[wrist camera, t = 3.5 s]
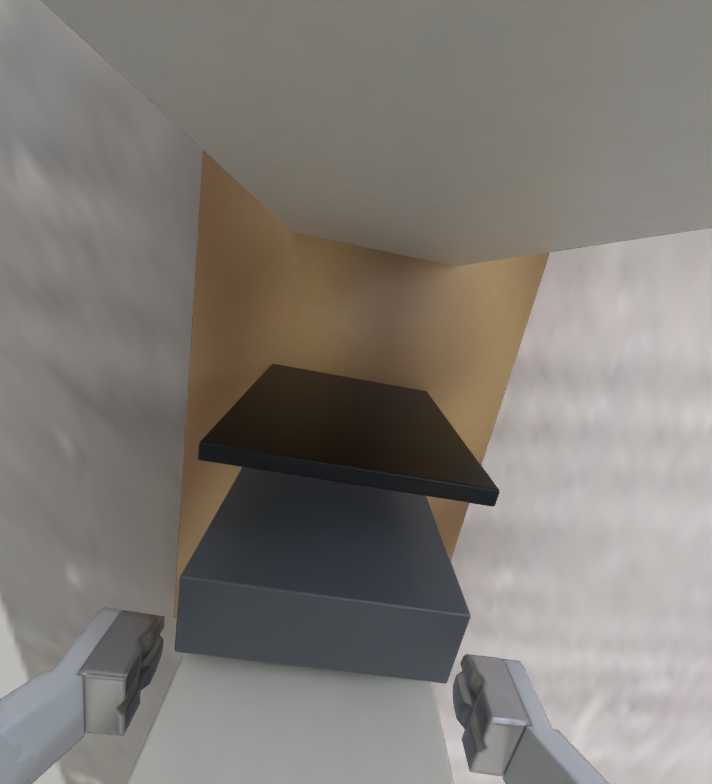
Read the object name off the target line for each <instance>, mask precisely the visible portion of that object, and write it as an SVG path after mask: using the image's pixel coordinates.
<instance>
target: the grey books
mask: <svg viewBox="0 0 712 784" xmlns="http://www.w3.org/2000/svg"><path fill="white" fill-rule="evenodd" d="M469 619H470V613H469V610H468V607H467V605H466V602H465V599H464V597H463V594H462V591H461V588H460V586H459V583H458V580H457V578H456V575H455V572H454V569H453V567H452V564H451V561H450V559H449V556H448V553H447V551H446V548H445V545H444V542H443V540H442V537H441V534H440V532H439V529H438V526H437V523H436V521H435V518H434V515H433V513H432V510H431V507H430V505H429V502H428V499H427V496H424V495H417V494H411V493H405V492H398V491H392V490H386V489H379V488H373V487H367V486H360V485H354V484H348V483H341V482H335V481H329V480H322V479H316V478H310V477H303V476H297V475H291V474H284V473H278V472H272V471H265V470H259V469H253V468H246V467H242V469H241V470H240V472H239V474H238V476H237V477H236V479H235V481H234V483H233V484H232V486H231V488H230V490H229V491H228V493H227V495H226V497H225V498H224V500H223V502H222V504H221V505H220V507H219V509H218V511H217V512H216V514H215V516H214V518H213V519H212V521H211V523H210V525H209V526H208V528H207V530H206V532H205V533H204V535H203V537H202V539H201V541H200V542H199V544H198V546H197V548H196V549H195V551H194V553H193V555H192V556H191V558H190V560H189V562H188V563H187V565H186V567H185V569H184V570H183V572H182V574H181V576H180V580H179V595H178V610H177V625H176V640H175V651H176V652H183V653H192V654H200V655H208V656H217V657H225V658H234V659H242V660H251V661H259V662H268V663H276V664H285V665H293V666H302V667H310V668H319V669H327V670H336V671H344V672H353V673H361V674H370V675H378V676H386V677H395V678H403V679H412V680H420V681H429V682H437V683H447V680H448V678H449V675H450V672H451V669H452V666H453V664H454V661H455V658H456V655H457V653H458V650H459V647H460V644H461V641H462V639H463V636H464V633H465V630H466V628H467V625H468V622H469Z"/></svg>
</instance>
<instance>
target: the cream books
mask: <svg viewBox="0 0 712 784" xmlns="http://www.w3.org/2000/svg"><path fill="white" fill-rule="evenodd" d="M41 1H42V2H43V3H44V4H45V5H46V6H47V7H48V8H49V9H50V10H52V11H53V12H54V13H55V14H56V15H57V16H58V17H59V18H60V19H61V20H62V21H64V22H65V23H66V24H67V25H68V26H69V27H70V28H71V29H72V30H73V31H74V32H76V33H77V34H78V35H79V36H80V37H81V38H82V39H83V40H84V41H85V42H86V43H87V44H89V45H90V46H91V47H92V48H93V49H94V50H95V51H96V52H97V53H98V54H99V55H101V56H102V57H103V58H104V59H105V60H106V61H107V62H108V63H109V64H110V65H111V66H112V67H114V68H115V69H116V70H117V71H118V72H119V73H120V74H121V75H122V76H123V77H124V78H126V79H127V80H128V81H129V82H130V83H131V84H132V85H133V86H134V87H135V88H136V89H137V90H139V91H140V92H141V93H142V94H143V95H144V96H145V97H146V98H147V99H148V100H149V101H151V102H152V103H153V104H154V105H155V106H156V107H157V108H158V109H159V110H160V111H161V112H162V113H164V114H165V115H166V116H167V117H168V118H169V119H170V120H171V121H172V122H173V123H174V124H176V125H177V126H178V127H179V128H180V129H181V130H182V131H183V132H184V133H185V134H186V135H188V136H189V137H190V138H191V139H192V140H193V141H194V142H195V143H196V144H197V145H198V146H199V147H201V148H202V149H203V150H204V151H205V152H206V153H207V154H208V155H209V156H210V157H211V158H213V159H214V160H215V161H216V162H217V163H218V164H219V165H220V166H221V167H222V168H223V169H224V170H226V171H227V172H228V173H229V174H230V175H231V176H232V177H233V178H234V179H235V180H236V181H238V182H239V183H240V184H241V185H242V186H243V187H244V188H245V189H246V190H247V191H248V192H249V193H251V194H252V195H253V196H254V197H255V198H256V199H257V200H258V201H259V202H260V203H261V204H263V205H264V206H265V207H266V208H267V209H268V210H269V211H270V212H271V213H272V214H273V215H274V216H276V217H277V218H278V219H279V220H280V221H281V222H282V223H283V224H284V225H285V226H286V227H288V228H289V229H290V230H291V231H292V232H293V233H298V234H303V235H308V236H312V237H317V238H322V239H327V240H332V241H336V242H341V243H346V244H351V245H356V246H360V247H365V248H370V249H375V250H380V251H384V252H389V253H394V254H399V255H404V256H408V257H413V258H418V259H423V260H428V261H432V262H437V263H442V264H447V265H452V266H461V265H468V264H474V263H481V262H488V261H494V260H501V259H508V258H514V257H521V256H528V255H534V254H541V253H548V252H554V251H561V250H567V249H574V248H581V247H587V246H594V245H601V244H607V243H614V242H621V241H627V240H634V239H641V238H647V237H654V236H661V235H667V234H674V233H681V232H687V231H694V230H700V229H707V228H712V0H41Z"/></svg>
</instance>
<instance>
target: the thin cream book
mask: <svg viewBox="0 0 712 784" xmlns="http://www.w3.org/2000/svg"><path fill="white" fill-rule="evenodd" d="M126 784H454V782H453V777H452V772H451V768H450V763H449V758H448V754H447V749H446V744H445V739H444V735H443V730H442V725H441V721H440V716H439V711H438V707H437V702H436V697H435V692H434V688H433V683H432V682H429V681H420V680H412V679H403V678H395V677H386V676H378V675H370V674H361V673H353V672H344V671H336V670H327V669H319V668H310V667H302V666H293V665H285V664H276V663H268V662H259V661H251V660H242V659H234V658H225V657H217V656H208V655H200V654H192V653H183V656H182V658H181V660H180V662H179V665H178V667H177V669H176V672H175V674H174V676H173V678H172V681H171V683H170V685H169V687H168V690H167V692H166V694H165V696H164V699H163V701H162V703H161V705H160V708H159V710H158V712H157V715H156V717H155V719H154V721H153V724H152V726H151V728H150V730H149V733H148V735H147V737H146V739H145V742H144V744H143V746H142V748H141V751H140V753H139V755H138V757H137V760H136V762H135V764H134V767H133V769H132V771H131V773H130V776H129V778H128V780H127V782H126Z"/></svg>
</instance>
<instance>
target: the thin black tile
mask: <svg viewBox="0 0 712 784" xmlns="http://www.w3.org/2000/svg"><path fill="white" fill-rule="evenodd" d="M198 460H202V461H208V462H214V463H221V464H227V465H234V466H240V467H246V468H253V469H259V470H265V471H272V472H278V473H284V474H291V475H297V476H303V477H310V478H316V479H322V480H329V481H335V482H341V483H348V484H354V485H360V486H367V487H373V488H379V489H386V490H392V491H398V492H405V493H411V494H417V495H424V496H430V497H436V498H443V499H449V500H455V501H462V502H468V503H474V504H481V505H487V506H495V503H496V500H497V497H498V495H499V489H498V488H497V487H496V485H495V484H494V482H493V481H492V480H491V478H490V477H489V476H488V474H487V473H486V471H485V470H484V469H483V467H482V466H481V465H480V463H479V462H478V461H477V459H476V458H475V456H474V455H473V454H472V452H471V451H470V450H469V448H468V447H467V445H466V444H465V443H464V441H463V440H462V439H461V437H460V436H459V435H458V433H457V432H456V430H455V429H454V428H453V426H452V425H451V424H450V422H449V421H448V419H447V418H446V417H445V415H444V414H443V413H442V411H441V410H440V409H439V407H438V406H437V404H436V403H435V402H434V400H433V399H432V398H431V396H430V395H429V393H428V392H427V391H422V390H416V389H411V388H405V387H400V386H394V385H389V384H383V383H378V382H372V381H367V380H361V379H355V378H350V377H344V376H339V375H333V374H328V373H322V372H317V371H311V370H306V369H300V368H294V367H289V366H283V365H278V364H271V365H270V366H269V368H268V369H267V370H266V371H265V372H264V373H263V374H262V375H261V376H260V377H259V378H258V379H257V380H256V382H255V383H254V384H253V385H252V386H251V387H250V388H249V389H248V390H247V391H246V392H245V393H244V394H243V396H242V397H241V398H240V399H239V400H238V401H237V402H236V403H235V404H234V405H233V406H232V407H231V408H230V410H229V411H228V412H227V413H226V414H225V415H224V416H223V417H222V418H221V419H220V420H219V421H218V422H217V424H216V425H215V426H214V427H213V428H212V429H211V430H210V431H209V432H208V433H207V434H206V435H205V436H204V438H203V439H202V440H201V441H200V442H199V447H198Z"/></svg>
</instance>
